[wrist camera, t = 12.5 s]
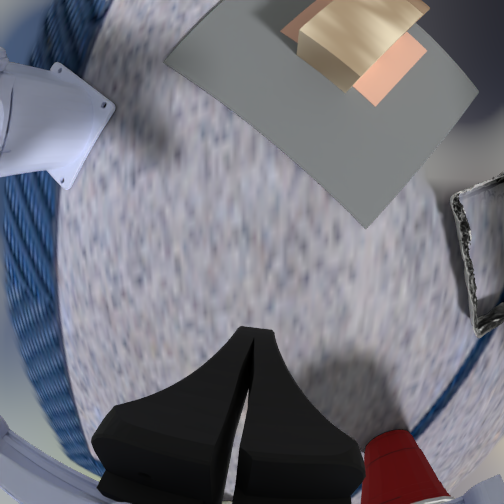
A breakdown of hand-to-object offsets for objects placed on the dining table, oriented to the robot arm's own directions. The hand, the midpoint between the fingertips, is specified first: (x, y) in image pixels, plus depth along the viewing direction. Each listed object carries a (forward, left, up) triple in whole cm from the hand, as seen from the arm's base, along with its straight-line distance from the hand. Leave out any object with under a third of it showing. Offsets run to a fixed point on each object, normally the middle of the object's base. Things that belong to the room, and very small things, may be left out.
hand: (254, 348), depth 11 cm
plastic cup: (+25, -7, -10) cm, 28 cm away
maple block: (-6, +12, -7) cm, 15 cm away
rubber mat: (-6, +14, -9) cm, 18 cm away
